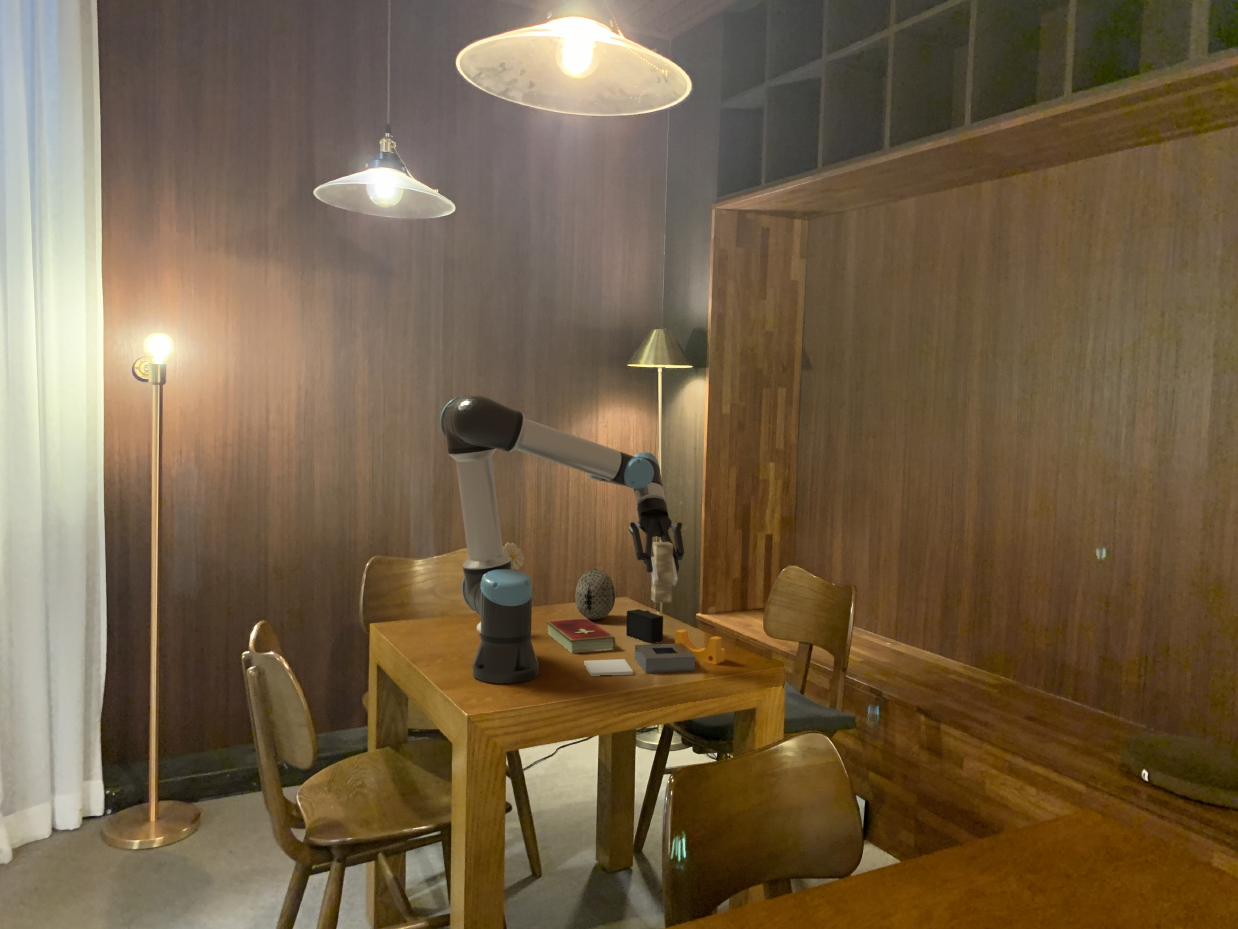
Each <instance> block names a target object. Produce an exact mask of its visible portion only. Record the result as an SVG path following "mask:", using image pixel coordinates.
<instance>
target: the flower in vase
mask: <svg viewBox="0 0 1238 929" xmlns="http://www.w3.org/2000/svg"><path fill="white" fill-rule="evenodd" d="M502 546H503V545H502ZM518 547H519V546H518V545H517V544H515V543H514V542H511V543H510V541H509V542H508V541H507V543H505V545H504V546H503V552H504V554H505V555H507V556H508V557H509V558H510V560H511V568H512V570H516V571H518V570H519V569H520V567H521V568H522V567H523V565H524V564H525V562H524V561H525V560H526V558H525V557H524V553H523V552H522V549H521V548H518ZM519 571H520V570H519ZM476 632H478V633H479V634H481V621H480V622H478V624H477V625H476Z"/></svg>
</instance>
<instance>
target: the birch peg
mask: <svg viewBox="0 0 1238 929" xmlns="http://www.w3.org/2000/svg"><path fill="white" fill-rule="evenodd" d="M673 545H674V544H671V543H670V542H663V541H652V552H651V557H655V562H656V568H657V574H658V579H659V580H658V582H657V585H656V586H653V581H652V580H651V592H650V594H651V595H650V599H651V601H652V602H654V603H660V604H661V603H672V587H673V586H672V561H673Z"/></svg>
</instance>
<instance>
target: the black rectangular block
mask: <svg viewBox="0 0 1238 929" xmlns="http://www.w3.org/2000/svg"><path fill="white" fill-rule="evenodd" d="M625 626H626V628H625V630H626V631H625V632H626V633H625V636H626V635H627V637H629V636H630V637H629V638H632V637H633V639H636V640H638V639H639V640H638V641H641V640H642V642H645V643H647V644H650V643H653V644H658V643H661V641H662V642H663V640H664V639H663V637H664V636H663V635H664V616H663V615H660V614H656V613H653V612H650V611H649V610H643V609H639V608H637V609H631V610H627V611H626V625H625ZM657 642H658V643H657Z"/></svg>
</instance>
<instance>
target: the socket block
mask: <svg viewBox="0 0 1238 929" xmlns="http://www.w3.org/2000/svg"><path fill="white" fill-rule="evenodd" d="M634 660H635V662H637V664H638V665H639V666H640V668H641V669H642V670H643V672H645V674H658V673H659V674H660V673H662V674H663V673H682V672H684V673H685V672H696V660H695V656H694V655H693V654H692V653H691V652H690V651H689V650H688V649H687V648H686V647H685V646H684V645H683V644H682V643H676V644H675V643H653V644H650V643H647V644H634Z"/></svg>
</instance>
